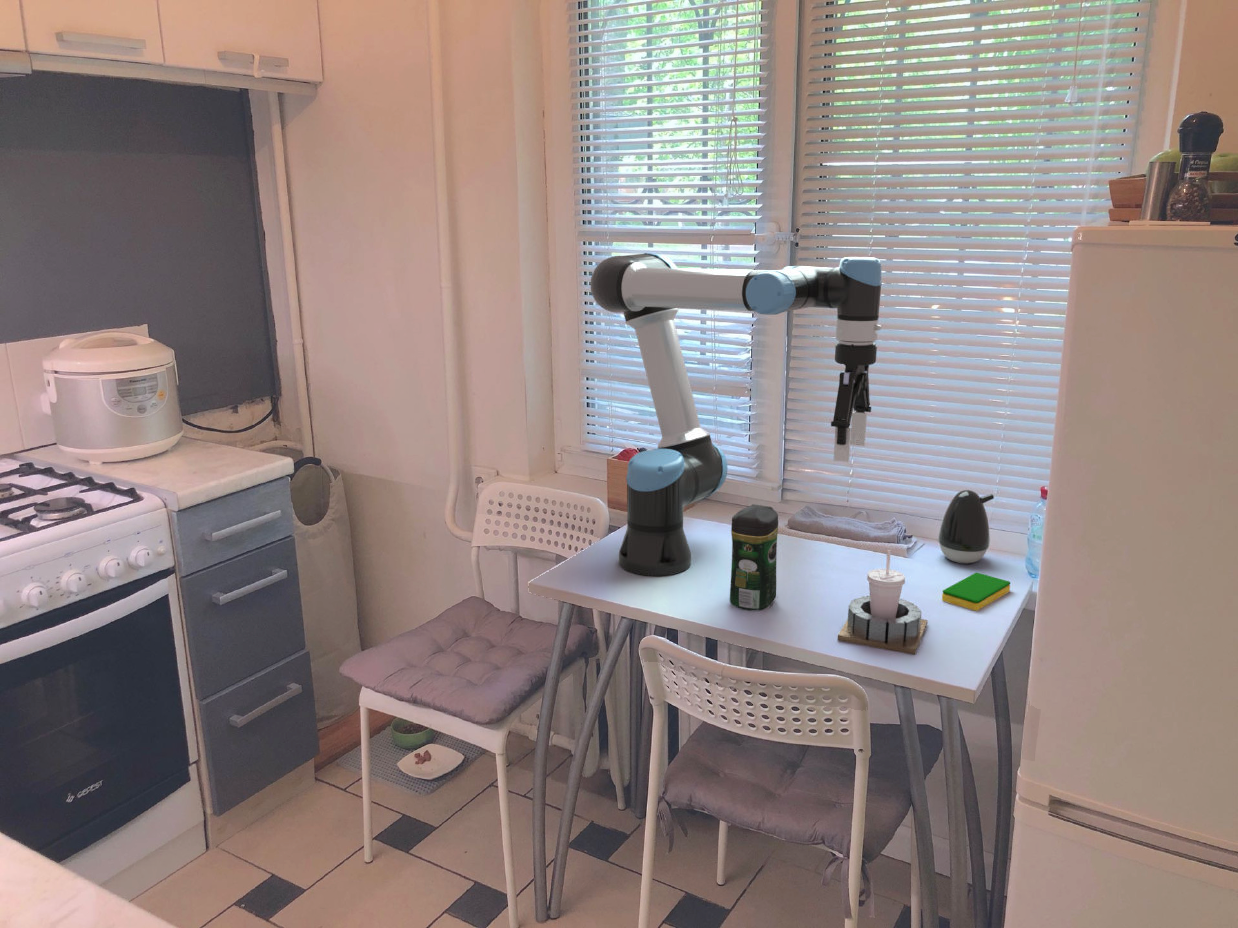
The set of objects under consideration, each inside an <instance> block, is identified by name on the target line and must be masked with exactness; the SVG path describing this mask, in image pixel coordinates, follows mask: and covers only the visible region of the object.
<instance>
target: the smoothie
mask: <svg viewBox="0 0 1238 928" xmlns="http://www.w3.org/2000/svg"><path fill="white" fill-rule="evenodd" d="M891 551H892V550H890V549H888V550H887V552H886V567H885V568H877V569H871V570H869V571H868V572H867V577H866V580H867V581H868V587H869V596H870V607H871V615H872V616H874V617H880V618H886V619H891V618H896V613H897V608H898V604H899V599H901V595H902V589H903V586H904V585H905V584H906V582H905V581H906V576H905V575H904V573H902V572H900V571H897V570H893V569H890V565H891V553H892V552H891Z"/></svg>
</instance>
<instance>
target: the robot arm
mask: <svg viewBox="0 0 1238 928" xmlns="http://www.w3.org/2000/svg"><path fill="white" fill-rule="evenodd" d="M882 285H883V281H882V262H881V261H880V259H879V258H876V257H868V256H862V257H861V256H860V257H859V256H848V257H847V256H846V257H842V258H841V259H840V261H839V265H838V267H825V266H824V267H821V266H820V267H819V266H806V265H793V266H791V265H790V266H789V265H788V266H785V267H783V268H782V269H775V270H774V269H773V270H772V269H771V270H770V269H767V270H766V269H722V268H720V269H719V268H718V269H717V268H714V269H713V268H679V267H678V266H676V264H675V263H674V262H673V261H672V260H671V259H669V258H668V257H666V256H665V255H662V254H660V253H659V254H658V253H651V252H650V253H649V252H644V253H637V254H628V255H614V256H611V257H608V258H605V259H603V260H602V261H601V262H599V264H597V266H596V267H595V268H594V270H593V272H592V275H591V277H590V292H591V295H592V297H593V299H594V301H595V303H597V304H598V306H599V307H600V308H601V309H604V310H605V311H607V312H609V313H615V314H619V313H622V314H623V317H624V321H625V323H626V325H628V326H629V327H631V328H633V330H634V331H635V336H636V339H637V344H638V348H639V350H640V355H641V358H642V362H643V366H644V370H645V374H646V377H647V382H648V383H647V384H648V385H649V386H648V387H649V390H650V394H651V397H652V402H653V406H654V411H655V413H656V418H657V422H658V426H659V429H660V434H661V439H660V441H659V443H658V444H657V448H654V449H652V450H650V449H649V450H648V449H646V450H644V451H640V452H638V453H636V454H634V455H633V456H632V457H631V458H630V459H629V461H628V463H627V470H626V471H627V473H626V476H625V477H626V478H625V480H626V491H627V492H626V498H627V499H626V504H627V505H626V508H627V509H626V510H627V512H626V514H627V515H626V516H627V517H626V518H627V520H626V521H627V525H626V526H627V527H626V531H625V534H624V537H623V539H622V541H621V542H622V543H621V546H620V549H619V553H618V562H619V563H618V564H619V566H620V567H621V568H622V569H624V570H625V571H627V572H630V573H633V574H636V575H637V574H638V575H643V576H651V577H653V576H659V577H660V576H669V575H675V574H678V573H682V572H684V571H686V570H687V569H689V568H690V567H691V565H692V552H691V550H690V549H691V548H690V546H689V543H688V539H687V535H686V534H685V529H684V507H686V506H688V505H690V504H693V503H696V502H697V501H700V500H703V499H704V500H705V499H707V498H709V497H710V496H712V495H713V494H715V493H716V492H718V491H719V490H720V489H721V488H722V486H723V485H724V483H725V481H726V479H727V475H728V469H729V468H728V461H727V458H726V455H725V452H723V450H722V448H719V447H718V445H717V444H715V443H713V442H712V438H711V435H710V432H708V431H706V429H704V428H702V427H701V424H700V420H699V416H698V412H697V407H696V404H695V399H694V396H693V392H692V387H691V383H690V380H689V376H688V372H687V368H686V363H685V360H684V355H683V351H682V347H681V343H680V339H679V336H678V332H677V328H676V324H675V323H676V322H675V317H676V315H677V314H678V312H679V309H690V310H691V309H692V310H694V309H695V310H712V311H713V310H717V311H718V310H719V311H738V312H754V313H755V312H756V313H757V314H760V315H766V316H768V315H779V314H782V313H785V312H790V311H796V310H801V309H806V308H825V309H837V310H836V311H837V313H836V315H837V316H836V325H835V326H836V328H835V329H836V330H835V340H837V341H838V342H836V344H835V348H834V351H835V353H834V360H835V362H836V363H837V364H839V365H844V367H845V368H844V372H841V371H840V373H839V374H838V375H839V377H838V378H839V380H838V381H839V382H838V388H837V396H836V402H835V407H834V408H835V409H834V415H833V420H832V421H830V427H835V429H834V430H835V431H834V433H835V434H834V444H833V445H834V448H833V461H836V462H845V463H849V462H850V453H851V452H850V451H851V445H852V446H862V447H865V445H866V432H867V418H868V415H867V414H868V413H872V406H870V405H871V403H870V385H869V384H870V383H869V381H870V380H869V379H870V378H869V371H870V369H869V367H870V366H872V365H874V364H876V361H877V352H878V351H877V349H878V345H877V344H876V343H875V342H876V341H877V340H878V333H879V332H878V331H881V330H882V325H880V324H879V317H880V316H879V313H880V305H881V304H880V302H881V291H882Z"/></svg>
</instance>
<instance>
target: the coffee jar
mask: <svg viewBox="0 0 1238 928" xmlns="http://www.w3.org/2000/svg"><path fill="white" fill-rule="evenodd" d="M730 531H731V532H730V533H731V545H732V546H731V570H730V571H731V572H730V573H731V574H730V588H729V603H730V604H731V605H732V606H734V607H736V608H738V609H740V610H742V611H743V610H745V611H749V612H750V611H764V610H766V609H767V608H768V607H770V605H772V604H773V603H774V601H775V599H776V598H777V556H778V555H777V552H778V550H777V549H778V548H777V547H778V533H779V514H778V513H777V511H776V510H775V509H774V508H773V507H772V506H767V505H762V504H751V505H749V506H747V507H745V508H743V509H741V510H739V511H738V512H736V513H735V514H734V515H733V516H732V518H731V530H730Z"/></svg>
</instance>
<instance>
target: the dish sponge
mask: <svg viewBox="0 0 1238 928" xmlns="http://www.w3.org/2000/svg"><path fill="white" fill-rule="evenodd" d="M1010 588H1011V581H1009V580H1006V579H1002V578H1000V577H999V578H998V577H994V576H991V575H987V574H983V573H980V572H974V573H973V574H971V575H969V576H967V577H965V578H962V579H961V580H960V581H958V582H956V583H954V584H953V585H951V586H948V587H946V588H944V589H943V590H942V594H941V595H942V596H941V600H942V602H946V603H948V604H951V605H954V606H955V605H956V606H959V607H962V608H964V609H968V610H972V611H974V612H975V611H976V612H977V611H979V610H980V609H982V608H984V607H986V606H987V605H989V604H991V603H993V602H994V601H996V600H997V599H999V598H1001V597H1002V596H1005V595H1006V594H1008V593H1009V592H1010V590H1011V589H1010Z"/></svg>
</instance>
